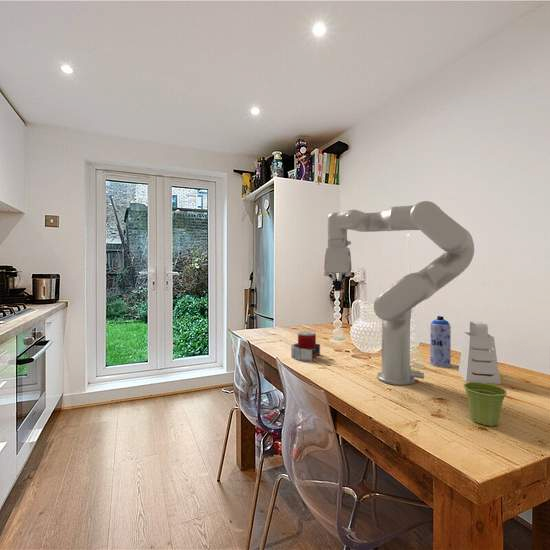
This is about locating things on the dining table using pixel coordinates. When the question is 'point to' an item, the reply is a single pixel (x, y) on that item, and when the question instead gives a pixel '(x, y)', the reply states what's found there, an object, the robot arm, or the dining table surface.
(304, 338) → the canned food
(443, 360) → the aerosol can
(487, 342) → the grater
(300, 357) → the duct collar
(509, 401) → the dining table surface
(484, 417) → the plant pot
